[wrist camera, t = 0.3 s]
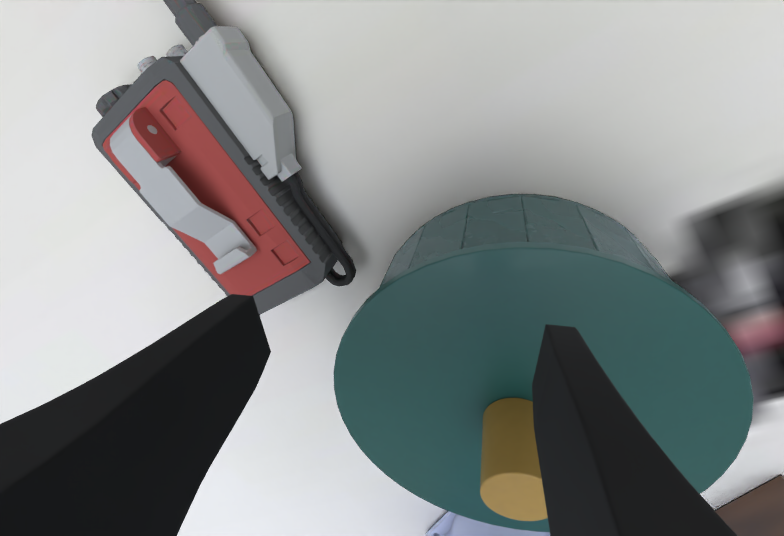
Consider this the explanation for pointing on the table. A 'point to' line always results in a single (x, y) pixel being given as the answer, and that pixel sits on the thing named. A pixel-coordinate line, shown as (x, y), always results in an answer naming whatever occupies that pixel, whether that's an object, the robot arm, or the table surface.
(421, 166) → the table surface
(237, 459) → the table surface
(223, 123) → the walkie-talkie
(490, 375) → the tin lid
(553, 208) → the tin
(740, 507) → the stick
